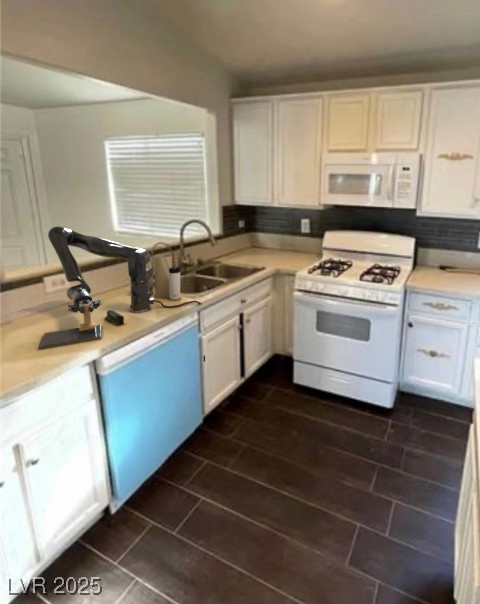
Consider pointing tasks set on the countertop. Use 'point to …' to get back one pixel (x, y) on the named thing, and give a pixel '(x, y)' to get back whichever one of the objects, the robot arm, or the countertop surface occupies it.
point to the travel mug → (174, 283)
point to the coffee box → (150, 279)
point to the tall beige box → (162, 274)
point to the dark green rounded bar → (115, 317)
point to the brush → (87, 322)
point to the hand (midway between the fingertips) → (87, 310)
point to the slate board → (68, 337)
